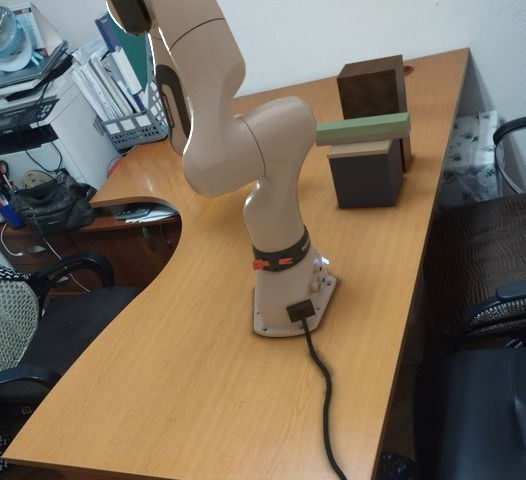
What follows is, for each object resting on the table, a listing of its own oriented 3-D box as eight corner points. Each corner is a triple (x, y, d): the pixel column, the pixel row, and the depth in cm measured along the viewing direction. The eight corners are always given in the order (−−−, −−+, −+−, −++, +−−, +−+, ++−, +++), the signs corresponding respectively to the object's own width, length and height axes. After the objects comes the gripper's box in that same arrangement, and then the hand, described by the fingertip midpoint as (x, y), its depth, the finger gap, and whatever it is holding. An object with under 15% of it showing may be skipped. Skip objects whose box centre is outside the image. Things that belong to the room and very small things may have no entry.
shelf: (354, 176, 140) (336, 78, 122) (361, 160, 144) (345, 64, 126) (405, 172, 133) (395, 68, 115) (411, 156, 138) (402, 54, 120)
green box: (316, 147, 125) (312, 131, 122) (321, 138, 127) (317, 123, 124) (407, 137, 115) (406, 120, 112) (411, 128, 117) (409, 111, 114)
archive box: (338, 208, 131) (326, 154, 121) (350, 181, 138) (340, 128, 128) (394, 206, 125) (386, 149, 114) (404, 178, 132) (398, 122, 121)
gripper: (216, 134, 125) (260, 130, 116) (264, 107, 136) (307, 102, 128) (223, 159, 128) (266, 157, 120) (270, 132, 140) (312, 128, 132)
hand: (288, 129), depth 124 cm, fingers open, 8 cm apart
